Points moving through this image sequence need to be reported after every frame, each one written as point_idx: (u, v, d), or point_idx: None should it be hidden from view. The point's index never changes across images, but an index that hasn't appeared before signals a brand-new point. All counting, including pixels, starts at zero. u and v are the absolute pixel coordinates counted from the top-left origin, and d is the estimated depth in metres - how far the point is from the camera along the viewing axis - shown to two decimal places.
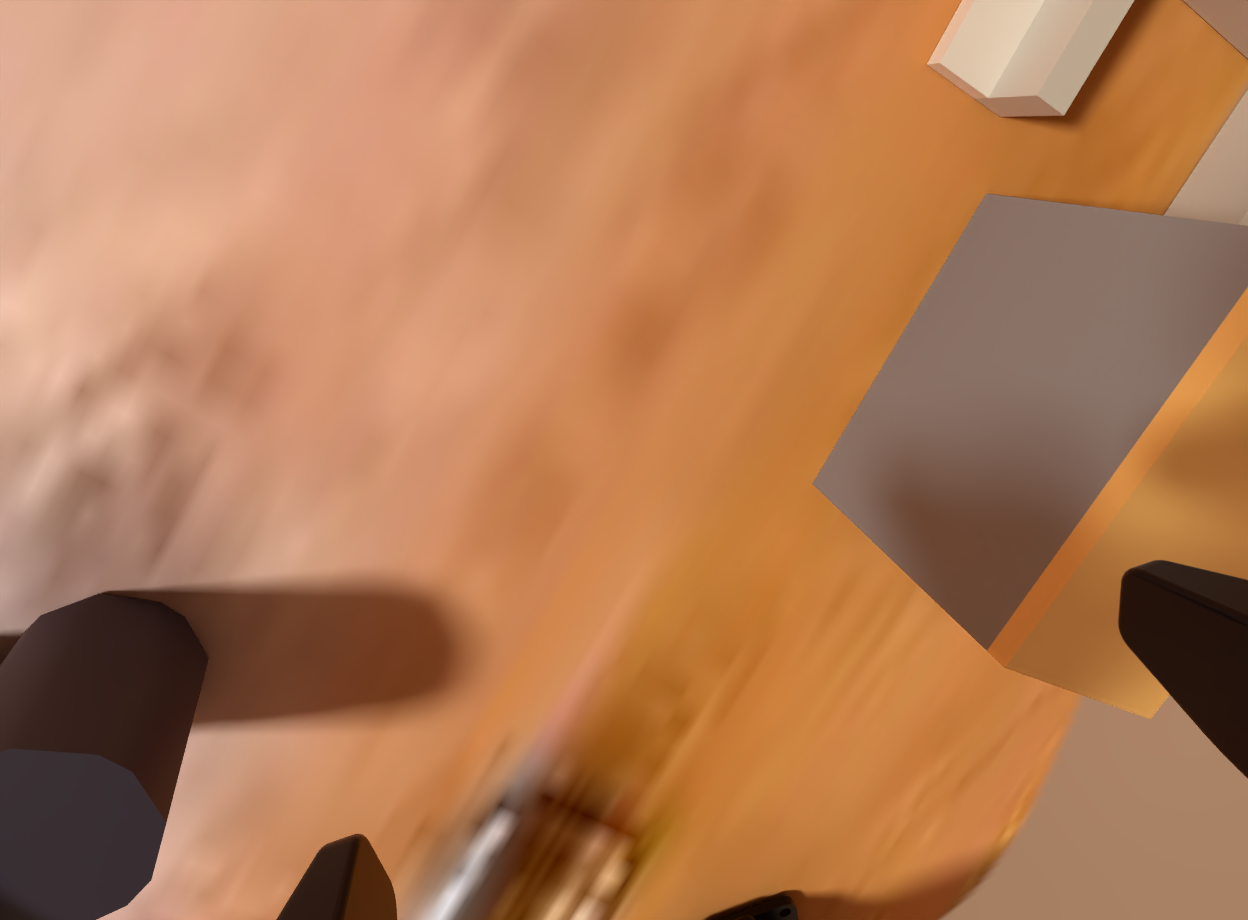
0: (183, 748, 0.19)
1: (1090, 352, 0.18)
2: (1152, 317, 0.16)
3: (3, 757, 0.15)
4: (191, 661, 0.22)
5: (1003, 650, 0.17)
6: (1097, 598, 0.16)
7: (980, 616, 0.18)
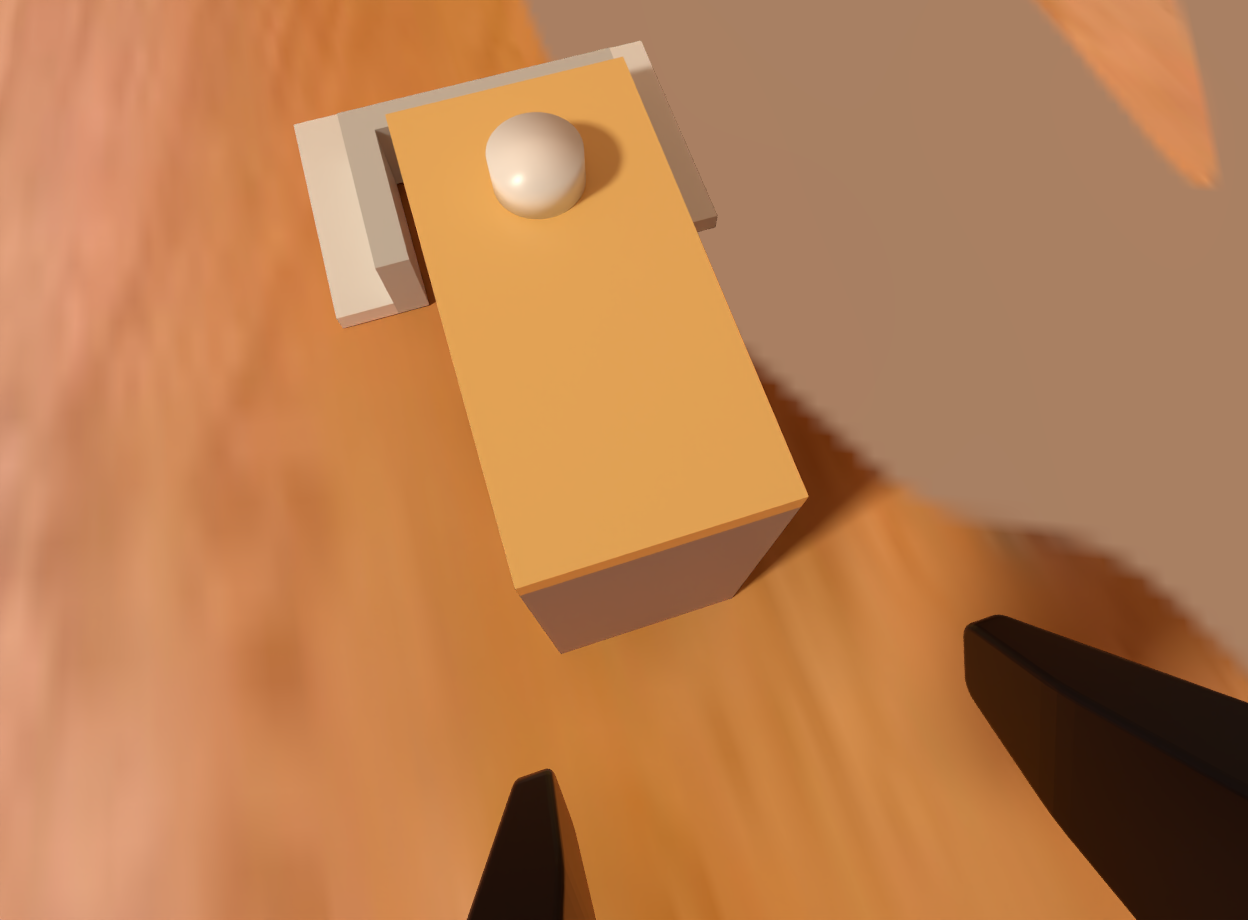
0: None
1: None
2: None
3: None
4: None
5: (512, 576, 0.13)
6: (541, 446, 0.13)
7: None
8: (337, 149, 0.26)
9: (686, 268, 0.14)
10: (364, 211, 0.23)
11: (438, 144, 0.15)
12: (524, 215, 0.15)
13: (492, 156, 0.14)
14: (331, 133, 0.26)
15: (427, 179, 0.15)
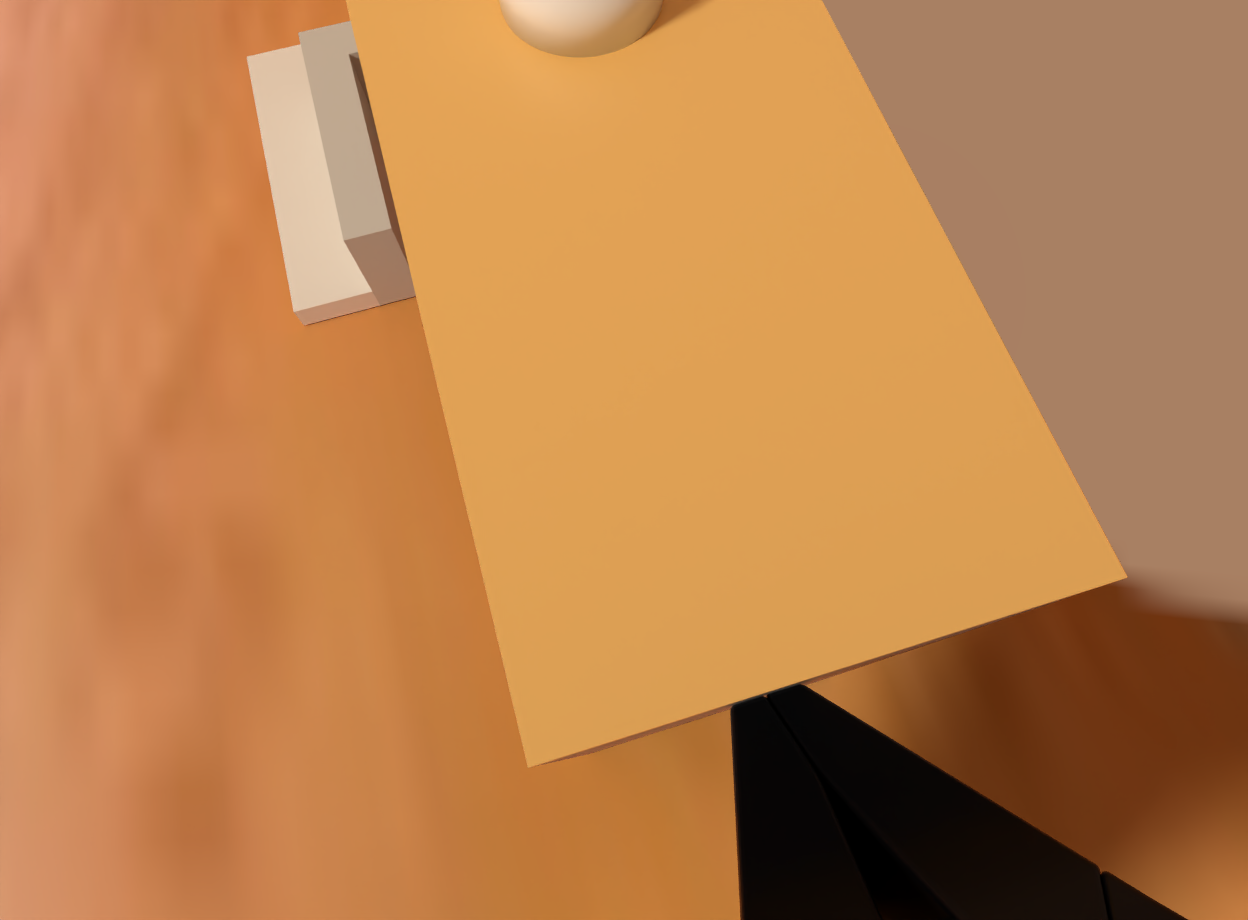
0: None
1: None
2: None
3: None
4: None
5: None
6: (585, 465, 0.07)
7: None
8: (303, 88, 0.20)
9: (849, 142, 0.08)
10: (331, 162, 0.17)
11: None
12: (555, 48, 0.08)
13: None
14: (296, 67, 0.20)
15: None
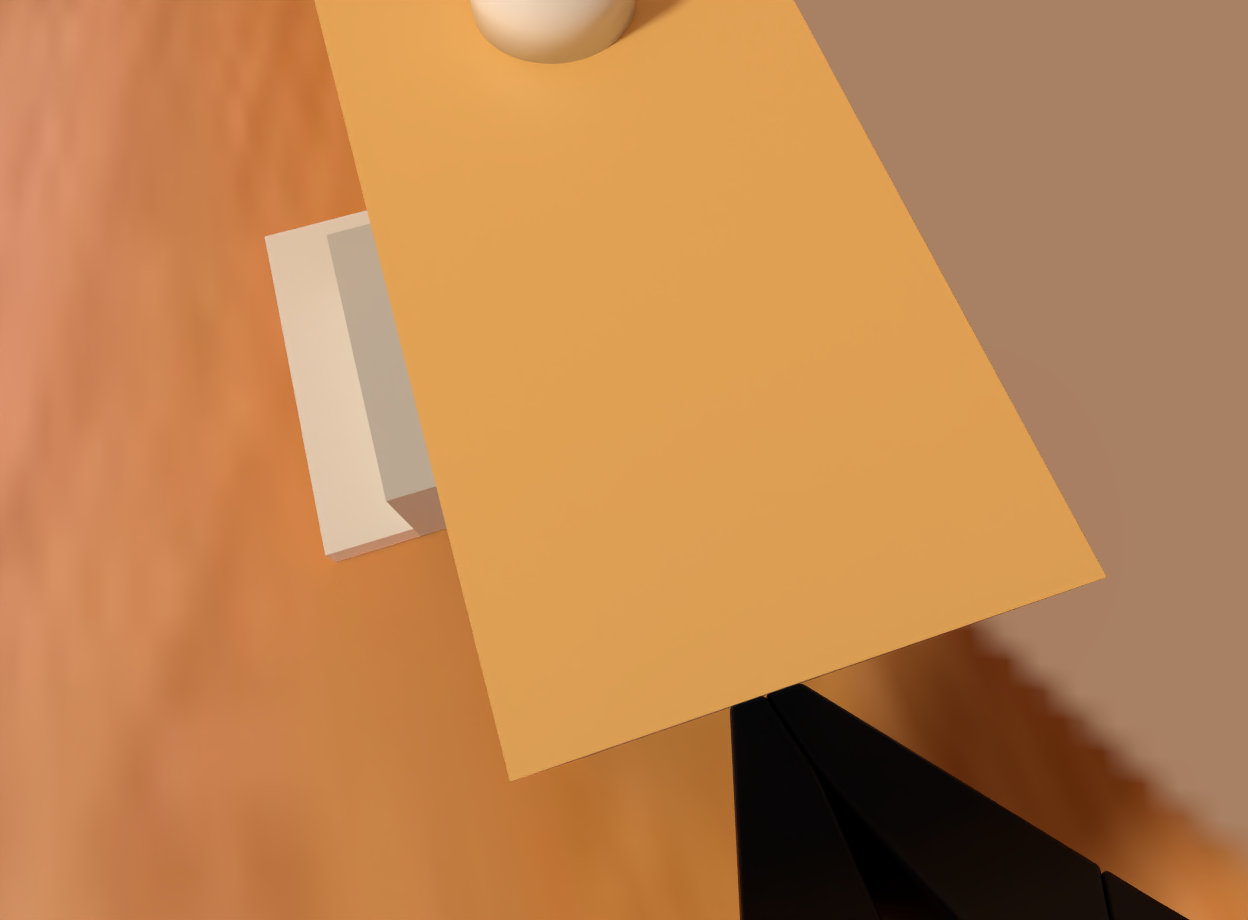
0: None
1: None
2: None
3: None
4: None
5: None
6: (562, 476, 0.07)
7: None
8: (328, 275, 0.18)
9: (824, 145, 0.08)
10: (368, 400, 0.15)
11: None
12: (528, 55, 0.08)
13: None
14: (320, 249, 0.18)
15: (357, 0, 0.08)
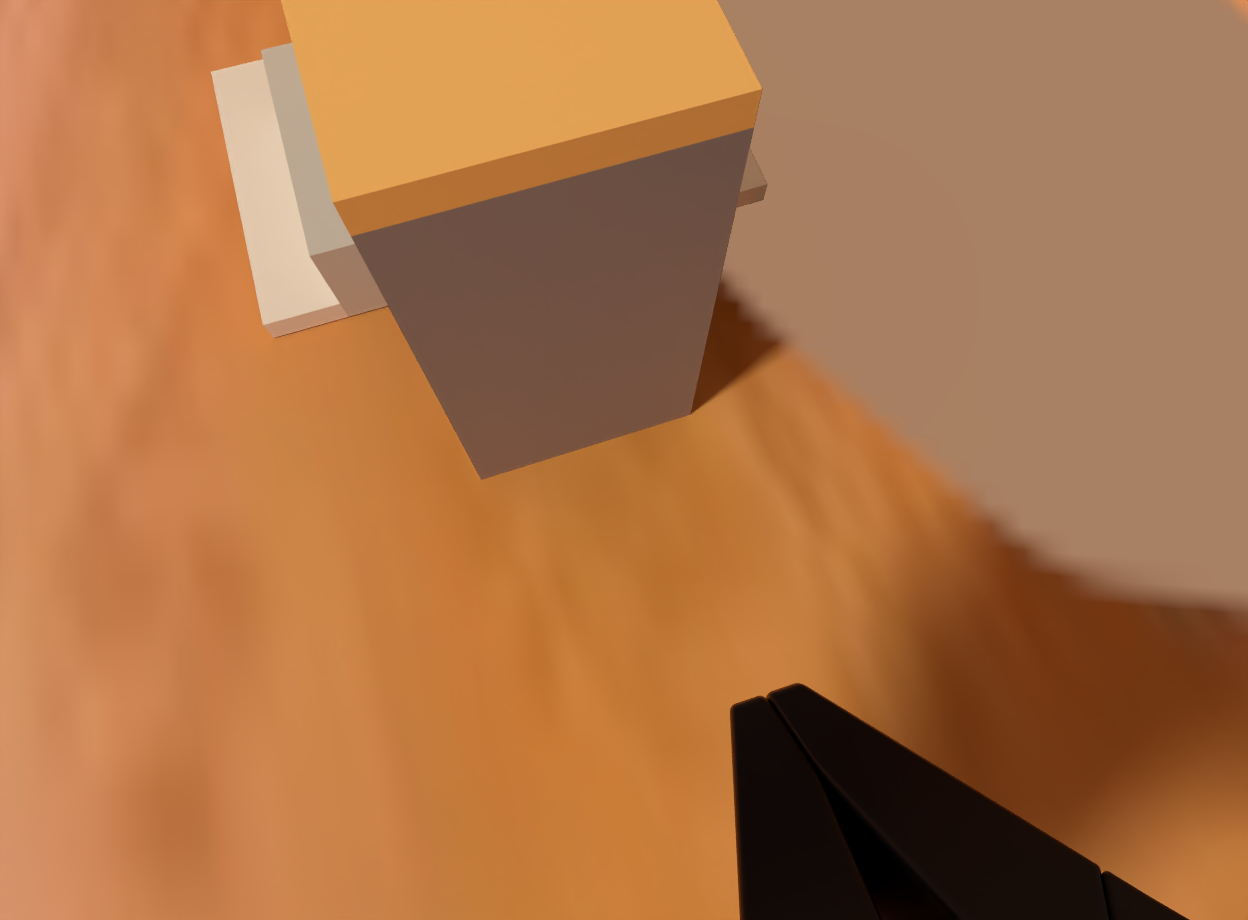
0: None
1: None
2: None
3: None
4: None
5: None
6: (383, 33, 0.09)
7: None
8: (268, 102, 0.20)
9: None
10: (295, 179, 0.17)
11: None
12: None
13: None
14: (260, 82, 0.20)
15: None
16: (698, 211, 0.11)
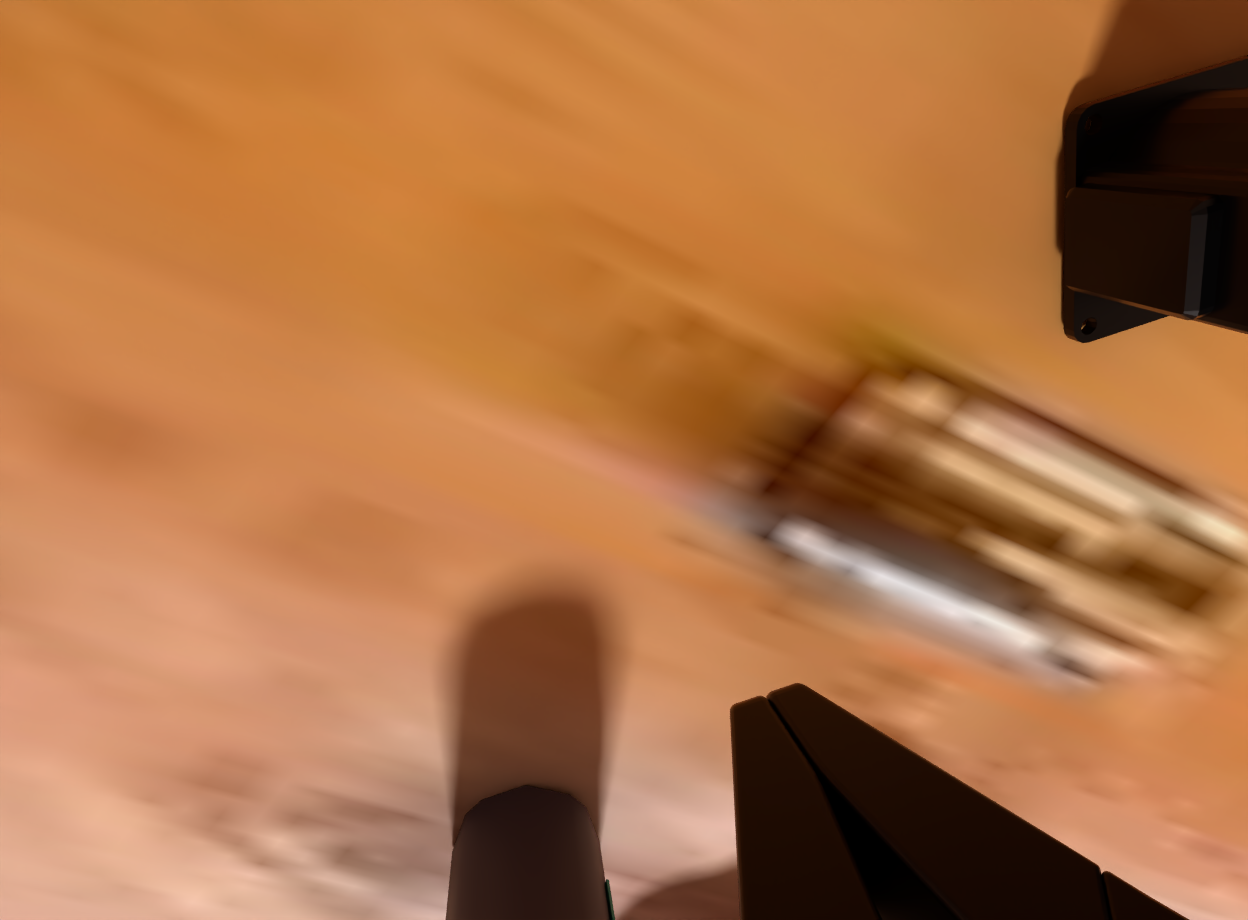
0: (526, 891, 0.21)
1: None
2: None
3: None
4: (505, 816, 0.24)
5: None
6: None
7: None
8: None
9: None
10: None
11: None
12: None
13: None
14: None
15: None
16: None
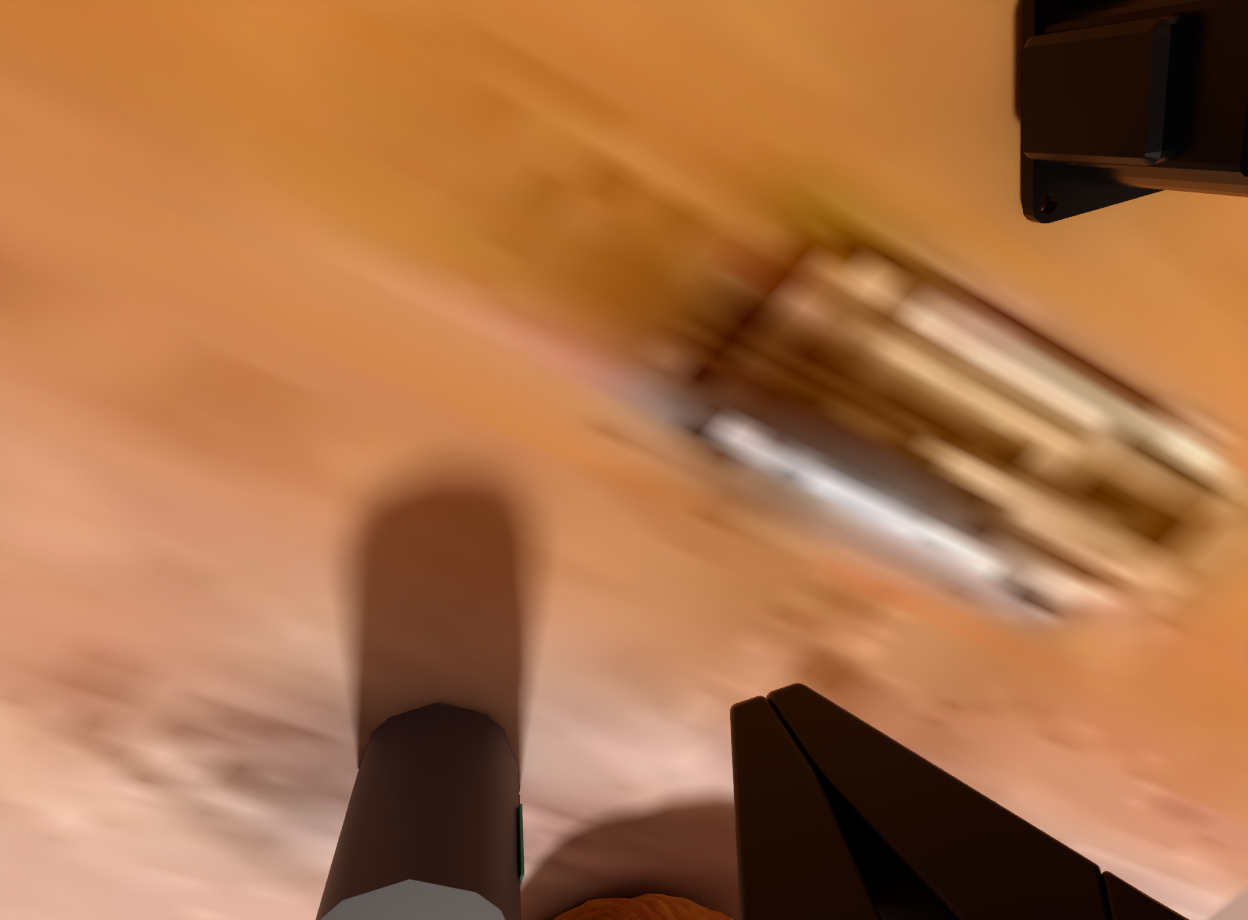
0: (419, 802, 0.19)
1: None
2: None
3: None
4: (411, 732, 0.22)
5: None
6: None
7: None
8: None
9: None
10: None
11: None
12: None
13: None
14: None
15: None
16: None
